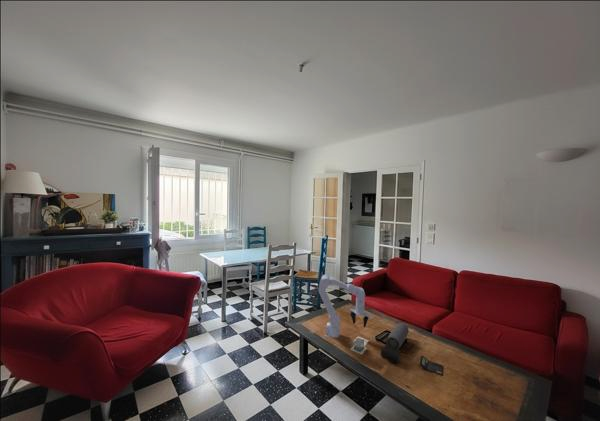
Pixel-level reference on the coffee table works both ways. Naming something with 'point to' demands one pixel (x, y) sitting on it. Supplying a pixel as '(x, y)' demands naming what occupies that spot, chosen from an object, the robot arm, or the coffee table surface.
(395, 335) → the bluetooth speaker
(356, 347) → the block
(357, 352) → the stand
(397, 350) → the end cap
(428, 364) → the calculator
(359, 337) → the stand
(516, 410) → the coffee table surface
